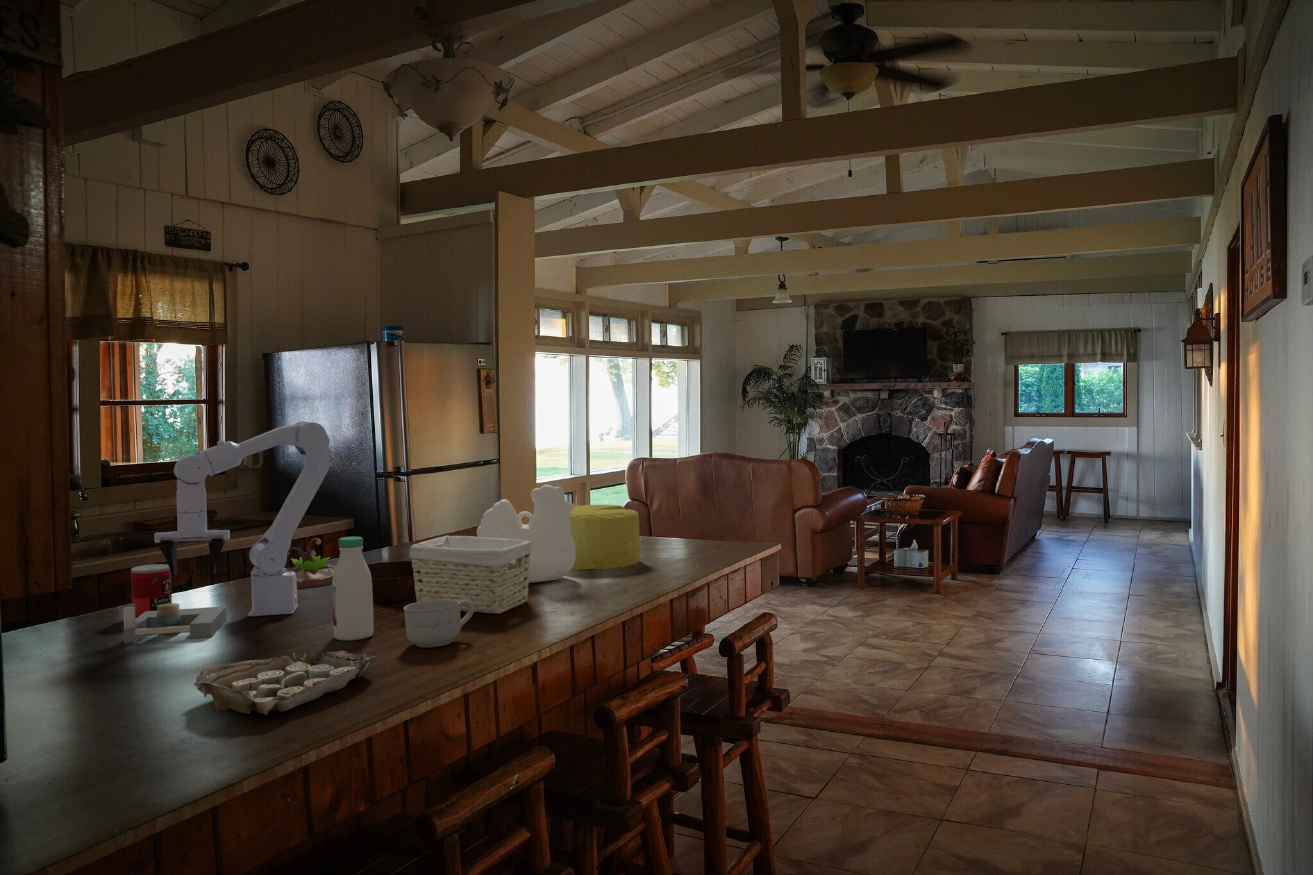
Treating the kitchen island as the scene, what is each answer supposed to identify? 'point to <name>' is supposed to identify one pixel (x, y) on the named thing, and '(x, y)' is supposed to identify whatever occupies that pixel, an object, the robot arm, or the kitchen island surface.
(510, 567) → the storage basket
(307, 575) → the plant
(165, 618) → the bobbin
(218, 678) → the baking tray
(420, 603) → the teacup
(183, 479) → the robot arm
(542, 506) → the decorative rooster
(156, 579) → the canned food
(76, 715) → the kitchen island surface
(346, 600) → the milk bottle
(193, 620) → the grey u-shaped frame
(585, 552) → the cheese
